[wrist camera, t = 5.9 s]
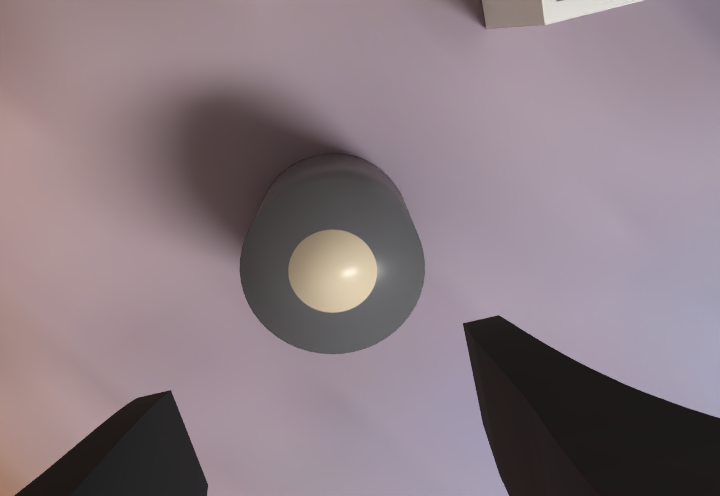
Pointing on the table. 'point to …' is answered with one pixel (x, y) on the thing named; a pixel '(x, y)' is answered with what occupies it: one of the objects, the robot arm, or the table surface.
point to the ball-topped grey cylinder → (332, 256)
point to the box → (541, 11)
